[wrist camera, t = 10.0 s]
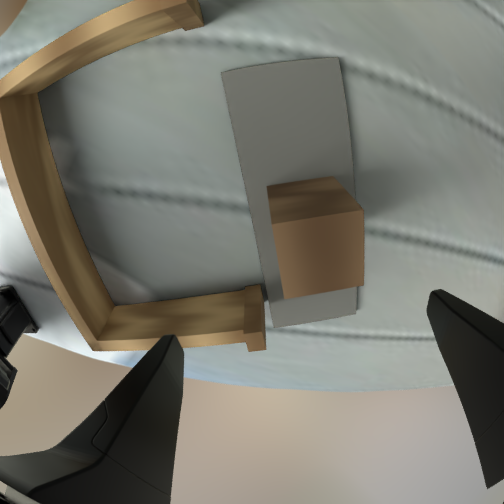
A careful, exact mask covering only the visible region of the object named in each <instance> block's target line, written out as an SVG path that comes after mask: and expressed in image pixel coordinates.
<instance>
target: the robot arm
mask: <svg viewBox="0 0 504 504" xmlns="http://www.w3.org/2000/svg"><path fill="white" fill-rule="evenodd" d="M427 316H428V318H429V321H430V324H431V327H432V330H433V332H434V335H435V338H436V341H437V344H438V347H439V350H440V352H441V354H442V357H443V359H444V361H445V363H446V366H447V368H448V370H449V373H450V375H451V378H452V380H453V383H454V385H455V388H456V390H457V392H458V395H459V398H460V401H461V403H462V406H463V409H464V411H465V414H466V417H467V420H468V423H469V426H470V429H471V432H472V435H473V438H474V442H475V445H476V449H477V452H478V455H479V459H480V463H481V466H482V471H483V475H484V479H485V483H486V487H487V489H488V488H490V487H492V486H493V485H495V484H497V483H498V482H500V481H501V480H503V479H504V323H502V322H500V321H499V320H497V319H495V318H493V317H492V316H490V315H488V314H486V313H485V312H483V311H481V310H479V309H477V308H476V307H474V306H472V305H470V304H468V303H467V302H465V301H463V300H461V299H459V298H457V297H455V296H454V295H452V294H450V293H448V292H446V291H444V290H442V289H438V290H434V291H432V292H431V293H430V296H429V301H428V305H427ZM37 332H38V327H37V326H36V324H35V323H34V321H33V320H32V318H31V317H30V315H29V314H28V312H27V311H26V309H25V307H24V306H23V304H22V302H21V301H20V299H19V297H18V296H17V294H16V292H15V290H14V289H13V287H11V286H6V287H1V288H0V409H1V408H2V407H3V405H4V404H5V402H6V401H7V399H8V396H9V393H10V390H11V387H12V384H13V382H14V379H15V376H16V373H17V369H16V368H15V367H13V366H12V365H11V364H10V363H9V362H8V360H7V359H6V358H7V357H8V355H9V353H10V352H11V350H12V349H13V347H14V346H15V344H16V343H17V341H18V339H19V338H20V337H21V335H22V334H23V333H37ZM183 376H184V351H183V348H182V346H181V344H180V342H179V340H178V338H177V336H176V335H175V334H166V335H163V336H162V337H161V338H160V339H159V340H158V341H157V342H156V344H155V345H154V346H153V347H152V348H151V349H150V350H149V351H148V352H147V353H146V354H145V355H144V357H143V358H142V359H141V360H140V361H139V362H138V363H137V364H136V365H135V366H134V367H133V368H132V370H131V371H130V372H129V373H128V374H127V375H126V376H125V377H124V378H123V379H122V380H121V382H120V383H119V384H118V385H117V386H116V387H115V388H114V389H113V390H112V391H111V392H110V394H109V395H108V396H107V397H106V398H105V401H102V402H101V403H100V405H99V406H98V407H97V408H96V409H95V410H94V411H93V412H92V413H91V414H90V415H89V416H88V417H87V418H86V419H85V420H84V421H83V422H82V423H81V424H80V425H79V426H77V427H76V428H75V429H74V430H73V431H72V432H71V433H70V434H69V435H67V436H66V437H65V438H64V439H63V440H62V441H61V442H60V443H58V444H57V445H56V446H54V447H53V448H51V449H48V450H45V451H40V452H34V453H27V454H20V455H13V456H0V481H2V482H3V483H5V484H6V485H7V489H6V492H5V494H3V493H1V492H0V504H170V501H171V497H170V496H171V487H172V478H173V469H174V460H175V451H176V443H177V434H178V426H179V419H180V411H181V404H182V397H183ZM503 504H504V502H503Z"/></svg>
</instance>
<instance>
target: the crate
mask: <svg viewBox="0 0 504 504" xmlns="http://www.w3.org/2000/svg"><path fill="white" fill-rule="evenodd" d="M202 26H204V22H203V17H202V13H201V8H200V4H199V2H198V0H134V1H131V2H129V3H126V4H124V5H122V6H119V7H117V8H115V9H113V10H110V11H108V12H106V13H104V14H102V15H100V16H98V17H96V18H94V19H92V20H90V21H88V22H86V23H84V24H82V25H80V26H78V27H77V28H75V29H73V30H71V31H70V32H68V33H66V34H64V35H63V36H61V37H59V38H58V39H56V40H55V41H53V42H51V43H50V44H48V45H47V46H45V47H44V48H42V49H41V50H39V51H38V52H36V53H35V54H33V55H32V56H31V57H29V58H28V59H26V60H25V61H24V62H22V63H21V64H20V65H18V66H17V67H16V68H14V69H13V70H12V71H11V72H9V73H8V74H7V75H6V76H4V77H3V78H2V79H1V80H0V160H1V163H2V167H3V170H4V173H5V176H6V180H7V183H8V186H9V189H10V192H11V194H12V197H13V200H14V203H15V205H16V208H17V211H18V213H19V216H20V218H21V221H22V223H23V226H24V228H25V230H26V233H27V235H28V237H29V240H30V242H31V244H32V246H33V248H34V251H35V253H36V255H37V257H38V259H39V261H40V263H41V265H42V267H43V269H44V271H45V273H46V275H47V277H48V279H49V281H50V282H51V284H52V286H53V288H54V290H55V291H56V293H57V295H58V297H59V299H60V300H61V302H62V304H63V305H64V307H65V309H66V310H67V312H68V314H69V315H70V317H71V319H72V320H73V322H74V323H75V325H76V327H77V328H78V330H79V331H80V333H81V334H82V336H83V337H84V339H85V340H86V342H87V343H88V345H89V346H90V347H91V349H92V350H93V351H134V350H150V349H151V348H152V347H153V346H154V345H155V344H156V342H157V341H158V340H159V339H160V338H161V337H162V336H163V335H166V334H175V335H176V336H177V338H178V340H179V342H180V344H181V346H182V348H189V347H201V346H213V345H223V344H232V343H241V342H246V344H247V348H248V351H249V352H252V351H260V350H266V333H265V309H264V299H263V294H262V290H261V285H260V284H259V285H253V286H246V287H245V290H240V291H233V292H226V293H219V294H212V295H204V296H197V297H189V298H181V299H173V300H165V301H157V302H148V303H139V304H130V305H121V306H115V305H114V303H113V301H112V300H111V298H110V296H109V294H108V292H107V290H106V288H105V286H104V284H103V282H102V280H101V278H100V276H99V274H98V272H97V270H96V267H95V265H94V263H93V261H92V259H91V257H90V254H89V252H88V250H87V248H86V245H85V243H84V241H83V238H82V236H81V234H80V231H79V229H78V226H77V224H76V221H75V219H74V216H73V214H72V211H71V209H70V206H69V203H68V201H67V198H66V195H65V192H64V189H63V186H62V184H61V181H60V178H59V174H58V171H57V168H56V165H55V162H54V158H53V155H52V152H51V148H50V145H49V141H48V137H47V133H46V129H45V125H44V121H43V117H42V113H41V108H40V103H39V98H38V92H40V91H41V90H43V89H44V88H46V87H48V86H49V85H51V84H53V83H54V82H56V81H58V80H59V79H61V78H63V77H65V76H67V75H68V74H70V73H72V72H74V71H76V70H78V69H80V68H82V67H83V66H85V65H87V64H89V63H92V62H94V61H96V60H98V59H100V58H102V57H104V56H106V55H109V54H111V53H113V52H116V51H118V50H120V49H123V48H125V47H128V46H130V45H133V44H135V43H138V42H140V41H143V40H146V39H149V38H152V37H154V36H157V35H160V34H163V33H167V32H170V31H173V30H176V29H180V28H183V29H184V30H185V31H187V30H191V29H195V28H198V27H202Z"/></svg>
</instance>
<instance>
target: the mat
mask: <svg viewBox="0 0 504 504" xmlns="http://www.w3.org/2000/svg"><path fill="white" fill-rule="evenodd" d="M221 76H222V81H223V85H224V90H225V95H226V99H227V104H228V109H229V113H230V118H231V123H232V127H233V132H234V137H235V142H236V146H237V151H238V156H239V160H240V165H241V170H242V175H243V179H244V184H245V189H246V194H247V199H248V203H249V208H250V213H251V218H252V223H253V227H254V232H255V237H256V242H257V247H258V252H259V257H260V261H261V266H262V271H263V276H264V281H265V286H266V291H267V296H268V301H269V306H270V310H271V315H272V320H273V325H274V328H278V327H284V326H291V325H297V324H304V323H310V322H315V321H321V320H327V319H332V318H338V317H343V316H348V315H353V314H356V302H357V287H352V288H347V289H342V290H336V291H331V292H325V293H319V294H313V295H308V296H302V297H295V298H289V299H284V294H283V288H282V282H281V276H280V270H279V264H278V258H277V252H276V247H275V241H274V235H273V230H272V224H271V216H270V209H269V202H268V194H267V187H266V186H270V185H276V184H282V183H289V182H295V181H301V180H308V179H315V178H322V177H329V176H333V177H334V178H335V179H336V180H337V181H338V182H339V183H340V184H341V185H342V186H343V187H344V188H345V189H346V191H347V192H348V193H349V194H350V195H351V196H352V197H353V198H354V199H355V183H354V169H353V158H352V148H351V138H350V129H349V121H348V114H347V106H346V99H345V93H344V87H343V81H342V75H341V69H340V64H339V58H338V57H335V58H318V59H305V60H295V61H286V62H278V63H271V64H264V65H258V66H252V67H246V68H241V69H236V70H231V71H226V72H221ZM355 201H356V199H355Z"/></svg>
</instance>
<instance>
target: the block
mask: <svg viewBox="0 0 504 504" xmlns="http://www.w3.org/2000/svg"><path fill="white" fill-rule="evenodd" d="M266 187H267V194H268V202H269V209H270V216H271V224H272V230H273V235H274V241H275V247H276V252H277V258H278V264H279V270H280V276H281V282H282V288H283V294H284V299H289V298H295V297H302V296H308V295H313V294H319V293H325V292H331V291H336V290H342V289H347V288H352V287H357V286H363V285H364V210H363V208H362V207H361V206H360V205H359V204H358V203H357V202H356V201H355V199H354V198H353V197H352V196H351V195H350V194H349V193H348V192H347V191H346V189H345V188H344V187H343V186H342V185H341V184H340V183H339V182H338V181H337V180H336V179H335V178H334V177H333V176H329V177H322V178H315V179H308V180H301V181H295V182H289V183H282V184H276V185H270V186H266Z"/></svg>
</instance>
